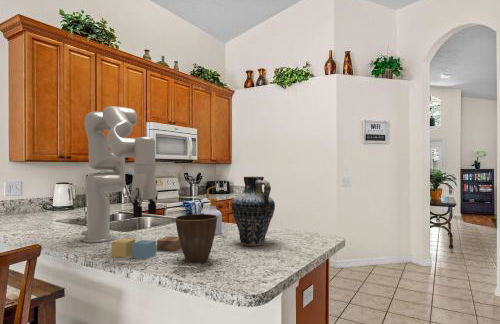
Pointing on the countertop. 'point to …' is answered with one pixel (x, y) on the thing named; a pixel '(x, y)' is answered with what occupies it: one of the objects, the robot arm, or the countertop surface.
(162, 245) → the walnut base brick
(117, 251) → the ochre brick
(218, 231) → the soap bottle
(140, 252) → the blue brick
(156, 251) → the grey flat board
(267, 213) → the jug
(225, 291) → the countertop surface
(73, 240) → the countertop surface
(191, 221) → the plant pot
